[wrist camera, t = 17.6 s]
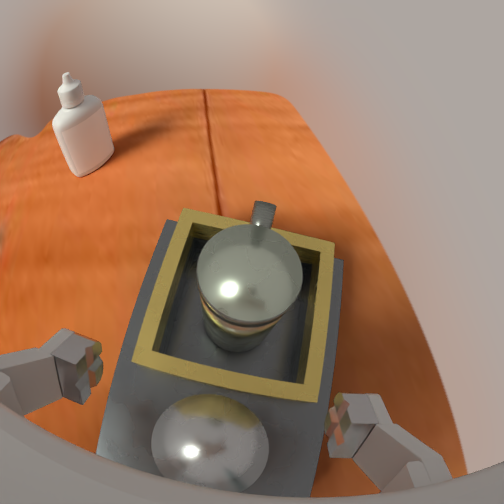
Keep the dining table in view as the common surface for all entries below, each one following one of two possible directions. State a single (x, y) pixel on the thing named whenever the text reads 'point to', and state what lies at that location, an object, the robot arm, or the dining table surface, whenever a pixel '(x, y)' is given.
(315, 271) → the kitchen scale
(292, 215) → the dining table surface
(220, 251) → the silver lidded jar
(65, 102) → the eye dropper bottle
